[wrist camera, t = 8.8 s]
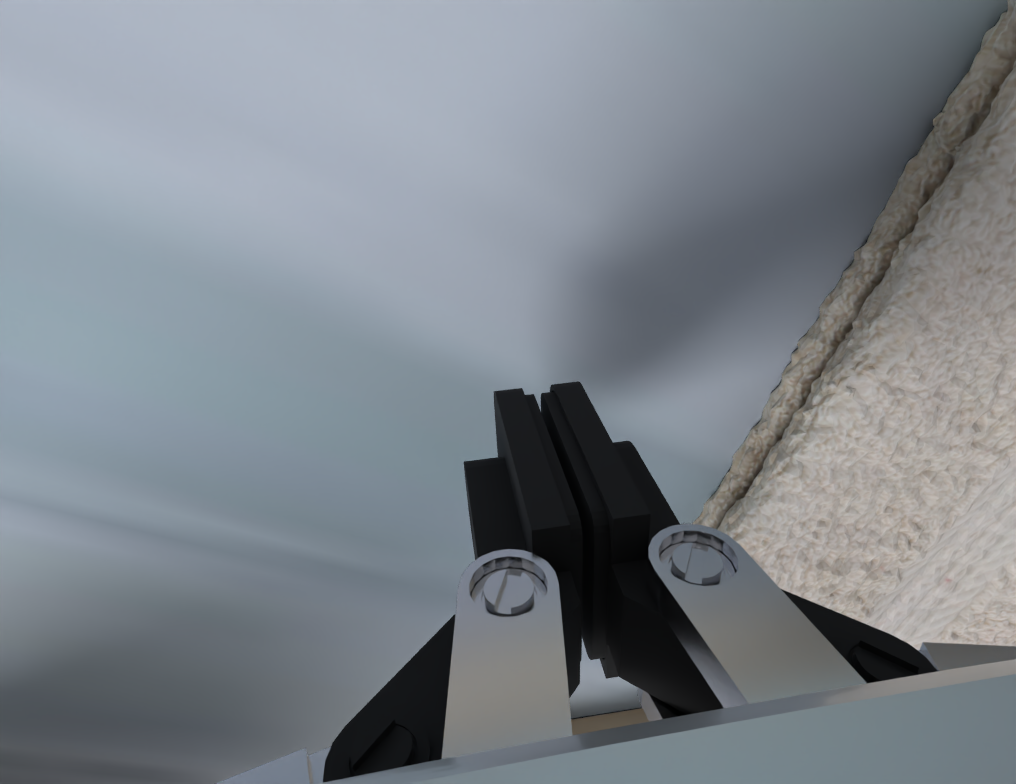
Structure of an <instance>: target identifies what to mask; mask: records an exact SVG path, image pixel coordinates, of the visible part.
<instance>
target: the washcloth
mask: <svg viewBox="0 0 1016 784" xmlns="http://www.w3.org/2000/svg"><path fill="white" fill-rule="evenodd" d="M933 125H934V126H935V127H934V129H933V130H932V131H931V133H930V134H929V135H928V137H927V138H926V140H925V142H924V143H923V145H922V146H921V148H920V150H919V153H918V155H916V156H915V157H914V158H912V159H911V160H909V161H908V163H907V164H906V166H905V169H904V172H903V173H902V175H901V176H900V178H899V180H898V183H897V185H896V188H895V189H894V191H893V193H892V195H891V196H890V198H889V200H888V202H887V205H886V207H885V208H884V210H883V211H882V212H881V214H880V215H879V216H878V218H877V220H876V222H875V224H874V226H873V228H872V231H871V234H870V236H869V237H868V240H867V243H866V244H865V245H864V246H863V247H861V248H859V249H858V250H856V251H855V252H854V261H853V263H852V264H851V266H850V267H849V268H848V269H846V270H845V271H843V275H842V278H841V279H840V281H839V282H838V284H837V286H836V288H835V289H834V290H833V291H832V292H831V293H830V294H829V295H828V296H827V297H826V298H825V300H824V302H823V303H822V305H821V306H820V307H819V309H820V317H819V318H818V320H817V321H816V322H815V323H814V325H813V326H812V327H811V328H810V329H809V330H808V332H807V334H806V335H805V336H804V337H802V338H801V339H800V340H799V341H798V344H797V345H798V349H797V350H796V351H795V352H793V353H792V354H791V360H792V361H791V363H790V364H789V365H788V366H787V367H786V368H785V370H784V372H783V374H782V381H781V384H780V385H779V386H778V387H777V388H776V389H775V390H774V391H773V392H772V393H771V395H770V399H769V401H768V403H767V404H766V406H765V407H764V410H763V412H762V418H761V420H760V422H759V423H758V424H757V425H756V426H755V427H753V428H752V429H751V430H750V433H749V435H748V436H747V438H746V440H745V441H744V443H743V444H742V445H741V446H740V448H739V449H738V450H737V451H736V453H735V454H734V455H733V463H732V466H731V468H730V471H729V472H727V474H726V475H725V477H724V478H723V480H722V483H721V484H720V486H719V488H718V490H717V492H716V493H714V494H713V495H712V496H711V497H710V498H709V499H708V500H707V501H706V503H705V504H704V508H703V511H702V513H701V515H700V516H699V517H698V518H697V519H696V520H695V521H694V522H693V524H697V525H704V526H707V527H711V528H714V529H717V530H719V531H721V532H723V533H725V534H727V535H729V536H730V537H731V538H732V539H734V540H735V541H736V542H737V543H738V544H740V545H741V546H742V548H743V549H744V550H745V551H746V552H747V553H748V554H749V555H750V556H751V557H752V558H753V560H754V561H755V562H756V563H757V564H758V565H759V566H760V567H761V568H762V569H763V570H764V572H765V573H766V574H767V575H768V576H769V577H770V578H771V579H772V580H773V581H774V582H775V583H776V585H777V586H778V587H779V588H780V589H782V590H785V591H787V592H790V593H792V594H794V595H797V596H799V597H802V598H804V599H806V600H809V601H811V602H814V603H816V604H819V605H821V606H823V607H826V608H828V609H831V610H833V611H836V612H838V613H840V614H843V615H845V616H848V617H850V618H852V619H855V620H857V621H860V622H862V623H865V624H867V625H869V626H872V627H874V628H877V629H879V630H881V631H884V632H886V633H889V634H891V635H893V636H895V637H897V638H899V639H901V640H903V641H905V642H906V643H908V644H910V645H911V646H913V647H914V648H915V649H916V650H920V648H921V645H922V643H923V642H931V643H953V644H975V645H997V646H1016V0H1008V12H1004V13H1002V14H1001V16H1000V19H999V21H998V22H997V24H996V25H995V26H994V27H992V28H991V29H990V30H988V31H987V32H986V33H985V35H984V37H983V39H982V42H981V50H980V51H979V52H978V53H977V55H976V56H975V58H974V61H973V63H972V65H971V68H970V71H969V72H968V73H967V74H966V75H965V77H964V78H963V79H962V81H961V82H960V83H959V84H958V86H957V87H956V88H955V90H954V91H953V92H952V94H951V95H950V96H949V98H948V100H947V103H946V105H945V106H944V108H943V110H942V113H939V114H938V115H937V116H936V117H935V118H934V119H933Z"/></svg>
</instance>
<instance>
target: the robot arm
mask: <svg viewBox="0 0 1016 784" xmlns="http://www.w3.org/2000/svg"><path fill="white" fill-rule="evenodd" d="M494 407H495V421H496V435H497V449H498V457H497V458H489V459H481V460H474V461H466V462H464V470H465V480H466V489H467V498H468V507H469V516H470V524H471V532H472V539H473V547H474V554H475V561H474V562H472V563H471V564H470V565H469V566H468V567H467V569H466V570H465V571H464V573H463V574H462V576H461V579H460V583H459V586H458V595H457V605H456V614H455V615H454V616H453V617H452V618H451V619H450V620H449V621H448V622H447V623H446V624H445V625H444V626H443V627H442V628H441V629H440V630H439V631H438V632H437V633H436V634H435V635H434V636H433V637H432V638H431V639H430V640H429V641H428V642H427V643H426V644H425V645H424V646H423V647H422V648H421V649H420V650H419V651H418V653H417V654H416V655H415V656H414V657H413V658H412V659H411V660H410V661H409V662H408V663H407V664H406V665H405V666H404V667H403V668H402V669H401V670H400V671H399V672H398V673H397V674H396V675H395V676H394V677H393V678H392V679H391V680H390V681H389V682H388V683H387V684H386V685H385V686H384V687H383V688H382V689H381V690H380V691H379V692H378V693H377V694H376V695H375V696H374V697H373V698H372V700H371V701H370V702H369V703H368V704H367V705H366V706H365V707H364V708H363V709H362V710H361V711H360V712H359V713H358V714H357V715H356V716H355V717H354V718H353V719H352V720H351V721H350V722H349V723H348V724H347V725H346V726H345V727H344V729H343V730H342V731H341V732H340V734H339V735H338V736H337V738H336V739H335V740H334V742H333V743H332V746H330V747H328V748H325V749H323V750H321V751H318V752H316V753H313V754H311V755H308V753H307V751H306V748H304V749H301V750H299V751H296V752H294V753H291V754H288V755H286V756H283V757H281V758H278V759H276V760H273V761H271V762H268V763H266V764H263V765H261V766H258V767H256V768H253V769H251V770H248V771H246V772H243V773H241V774H238V775H236V776H233V777H231V778H228V779H225V780H223V781H220V782H218V783H215V784H1016V646H997V645H975V644H953V643H931V642H923V643H922V645H921V648H920V650H916V649H915V648H914V647H913V646H911V645H910V644H908V643H906V642H905V641H903V640H901V639H899V638H897V637H895V636H893V635H891V634H889V633H886V632H884V631H881V630H879V629H877V628H874V627H872V626H869V625H867V624H865V623H862V622H860V621H857V620H855V619H852V618H850V617H848V616H845V615H843V614H840V613H838V612H836V611H833V610H831V609H828V608H826V607H823V606H821V605H819V604H816V603H814V602H811V601H809V600H806V599H804V598H802V597H799V596H797V595H794V594H792V593H790V592H787V591H785V590H782V589H780V588H779V587H778V586H777V585H776V583H775V582H774V581H773V580H772V579H771V578H770V577H769V576H768V575H767V574H766V573H765V572H764V570H763V569H762V568H761V567H760V566H759V565H758V564H757V563H756V562H755V561H754V560H753V558H752V557H751V556H750V555H749V554H748V553H747V552H746V551H745V550H744V549H743V548H742V546H741V545H740V544H738V543H737V542H736V541H735V540H734V539H732V538H731V537H730V536H729V535H727V534H725V533H723V532H721V531H719V530H717V529H714V528H711V527H707V526H704V525H697V524H680V523H679V522H678V520H677V518H676V516H675V515H674V513H673V511H672V510H671V508H670V506H669V505H668V503H667V501H666V499H665V498H664V496H663V494H662V493H661V491H660V489H659V488H658V486H657V484H656V482H655V481H654V479H653V477H652V476H651V474H650V472H649V471H648V469H647V467H646V465H645V464H644V462H643V460H642V459H641V457H640V455H639V453H638V452H637V450H636V448H635V447H634V445H633V444H632V443H631V442H629V441H623V442H615V443H613V442H612V440H611V439H610V437H609V435H608V433H607V431H606V429H605V427H604V426H603V424H602V422H601V420H600V418H599V416H598V414H597V413H596V411H595V409H594V407H593V405H592V403H591V401H590V399H589V398H588V396H587V394H586V392H585V390H584V388H583V386H582V385H581V383H580V382H571V383H563V384H554V385H551V387H550V392H548V393H542V394H541V412H540V409H539V406H538V404H537V401H536V398H535V396H534V394H531V395H525V394H524V392H523V389H522V388H519V389H511V390H502V391H494ZM582 638H583V642H584V645H585V648H586V652H587V654H588V657H589V659H590V660H593V659H599V658H600V661H601V664H602V667H603V670H604V673H605V676H606V678H612V677H618V676H619V677H620V678H622V679H624V680H626V681H628V682H629V683H631V684H633V685H635V686H636V687H637V696H638V698H639V701H640V704H641V707H642V709H643V711H644V712H645V714H646V716H647V718H648V720H649V722H644V723H639V724H633V725H627V726H622V727H616V728H610V729H605V730H599V731H594V732H588V733H583V734H577V735H573V734H572V723H571V712H570V701H569V698H570V697H571V695H572V694H573V692H574V691H575V689H576V688H577V686H578V685H579V684H580V661H581V648H582Z"/></svg>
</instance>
